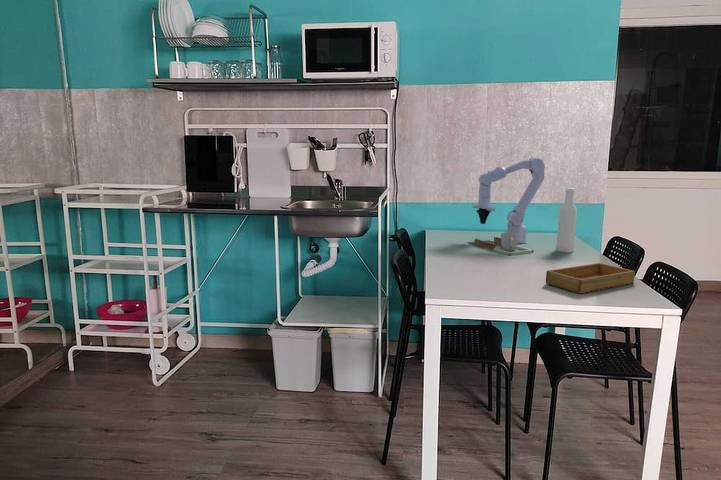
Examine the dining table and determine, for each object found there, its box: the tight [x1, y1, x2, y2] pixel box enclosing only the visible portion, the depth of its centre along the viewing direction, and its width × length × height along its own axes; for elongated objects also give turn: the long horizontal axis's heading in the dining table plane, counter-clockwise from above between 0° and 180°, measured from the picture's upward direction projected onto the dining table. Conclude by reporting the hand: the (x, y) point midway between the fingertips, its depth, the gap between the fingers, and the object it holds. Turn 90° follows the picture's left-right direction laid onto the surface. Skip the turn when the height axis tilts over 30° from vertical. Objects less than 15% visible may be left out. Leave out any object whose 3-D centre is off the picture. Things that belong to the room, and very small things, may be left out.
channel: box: [473, 236, 501, 251], centre depth 264 cm, size 14×14×3 cm
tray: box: [545, 262, 636, 295], centre depth 198 cm, size 31×15×6 cm, turn 121°
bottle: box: [555, 187, 578, 254], centre depth 253 cm, size 8×8×30 cm
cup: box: [500, 231, 518, 252], centre depth 254 cm, size 11×8×8 cm
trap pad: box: [467, 239, 495, 246], centre depth 273 cm, size 14×5×1 cm, turn 117°
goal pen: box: [493, 245, 534, 256], centre depth 253 cm, size 14×11×1 cm
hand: (482, 223), depth 274 cm, fingers closed
